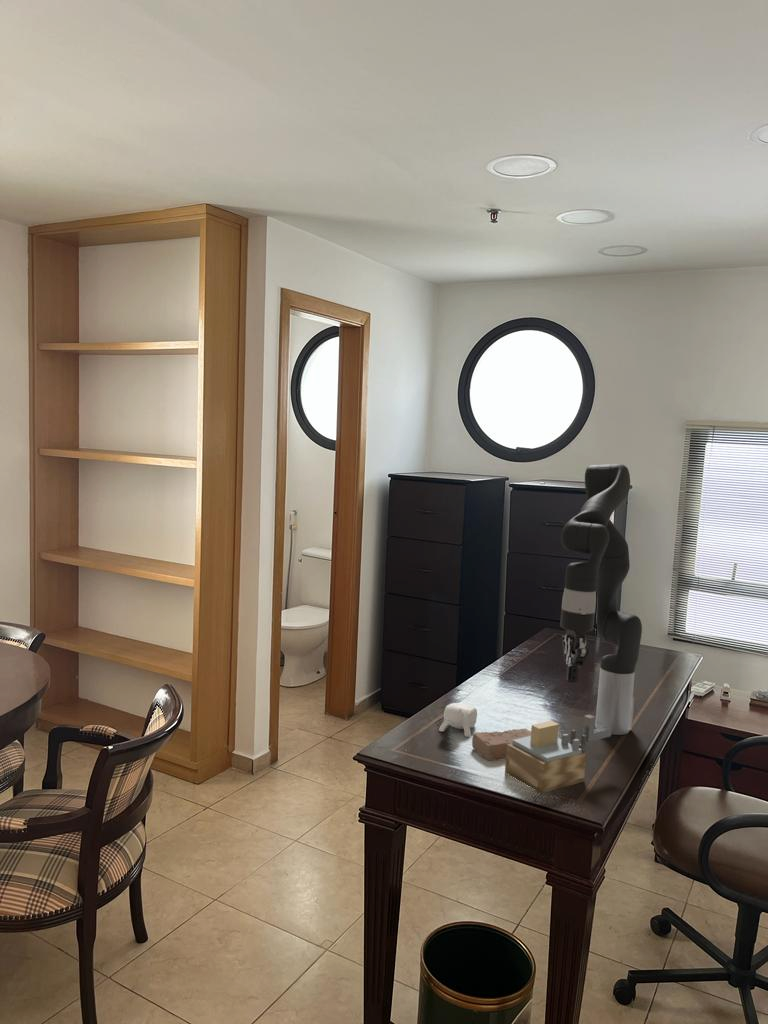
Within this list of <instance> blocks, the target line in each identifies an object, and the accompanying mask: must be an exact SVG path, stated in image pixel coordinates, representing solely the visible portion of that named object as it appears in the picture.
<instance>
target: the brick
mask: <svg viewBox="0 0 768 1024" xmlns="http://www.w3.org/2000/svg"><path fill="white" fill-rule="evenodd" d="M528 736H531V730H529V729H528V728H519V729H518V728H517V729H508V730H504V731H492V732H490V731H485V732H484V731H480V732H479V731H477V732H474V733H473V734H472V740H471V741H472V742H471V746H472V748H473V750H474V751H475V752H476V753H477V754H479V755H480V756H481V757H483V758H484V759H485V760H487V761H499V759H500V760H501V759H504V760H506V753H507V744H512V742H513V740H515V739H519V738H523V737H528Z"/></svg>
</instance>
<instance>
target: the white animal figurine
mask: <svg viewBox="0 0 768 1024" xmlns="http://www.w3.org/2000/svg"><path fill="white" fill-rule="evenodd" d="M477 718H478V710H477V708H475V707H473V706H472V705H469V704H467V703H465V702H454V703H452V702H451V703H449V704H447V705H446V706H445V707H444V711H443V722H442V723H441V724H440V726H439V728H438V731H439V732H445V731H446V729H447V728H448V727H450V726H451V727H453V728H455V729H457V730H458V729H459V730H464V737H467V738H470V737H471V735H472V733H471V728H474V727H475V725H476V723H477Z"/></svg>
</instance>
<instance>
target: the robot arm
mask: <svg viewBox="0 0 768 1024" xmlns="http://www.w3.org/2000/svg"><path fill="white" fill-rule="evenodd" d="M584 472H585V473H584V488H585V495H586V499H587V501H585V503H584V504H583V505H582V507H581V508H580V511H579V513H578V514H577V515H575V516H573V517H572V518H571V519H569V520H568V521H567V522H566V523H565V525H564V526H563V529H561V530H562V531H561V534H560V543H561V545H562V547H563V548H564V549H565V550H567V551H568V552H570V553H571V552H572V553H580V554H587V555H590V556H589V558H588V560H585V561H579V562H578V561H577V562H571V563H569V564H567V566H566V570H565V577H564V578H565V579H564V580H565V581H564V590H563V594H562V601H561V613H560V623H559V625H560V627H561V628H562V629H563V630H565V635H562V636H561V638H560V639H561V645H562V653H563V659H564V660H565V664H566V675H565V680H566V681H567V682H568V683H573V684H574V683H577V682H578V675H579V668H580V667H583V666H584V664H585V663H586V660H587V658H588V656H589V653H590V649H589V648H586V646H587V637H586V634H587V633H589V632H592V631H593V630H594V625H595V614H596V629H597V634H598V638H600V640H602V641H603V642H606V643H609V644H611V645H616V646H618V647H617V652H616V653H613V654H611V653H610V654H606V655H604V656H602V657H601V659H600V664H599V665H600V667H599V679H598V690H597V699H596V701H597V702H596V711H595V713H596V714H595V727H594V728H595V729H597V728H602V727H608V728H610V729H612V730H611V735H615V736H622V735H627V734H629V733H630V731H631V730H632V728H633V727H632V726H633V717H634V716H633V715H634V704H635V697H634V696H633V695H634V684H635V683H634V682H635V673H636V672H635V671H636V666H637V663H638V659H639V654H640V647H641V640H642V634H643V633H642V632H643V625H642V621H641V619H640V617H639V616H637V615H635V614H632V613H628V612H623V611H620V610H618V608H617V607H618V606H617V593H618V591H619V589H620V587H621V586H622V584H623V582H624V581H625V579H626V578H627V575H628V573H629V571H630V567H631V566H630V552H629V545H628V542H627V539H626V537H624V535H623V534H622V533H621V531H620V530H619V529H618V528H617V527H616V525H615V524H614V523H613V521H612V520H611V516H612V515H613V513H614V512H615V511H616V510H617V508H618V507H620V505H621V504H622V503H623V502H624V501H625V499H626V498H627V497H628V494H629V492H630V489H631V476H630V475H631V474H630V471H629V469H628V467H627V466H626V465H625V464H620V463H608V464H607V463H606V464H605V463H604V464H592V465H589V466H587V467H586V469H585V471H584Z"/></svg>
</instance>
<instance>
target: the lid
mask: <svg viewBox="0 0 768 1024" xmlns="http://www.w3.org/2000/svg"><path fill="white" fill-rule="evenodd" d="M559 726H560V725H559V723H557V722H555V721H552V720H548V721H544V722H540V723H534V724H531V730H530V731H531V736H528V737H523V738H519V739H515V740H513V742H512V744H513V745H515V746H517V747H518V748H520V749H522V750H524V751H526V752H527V753H529V754H531V755H533V756H535V757H537V758H539V759H541V760H542V761H545V762H550V761H554V760H558V759H562V758H566V757H570V756H573V755H577V754H581V753H582V749H580V748H579V743H580V742H581V741H580V739H578V738H575V739H574V740H573V744H570V742H569V739H570V738H569V734H568V733H563V734H561V738H559V730H560V727H559Z"/></svg>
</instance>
